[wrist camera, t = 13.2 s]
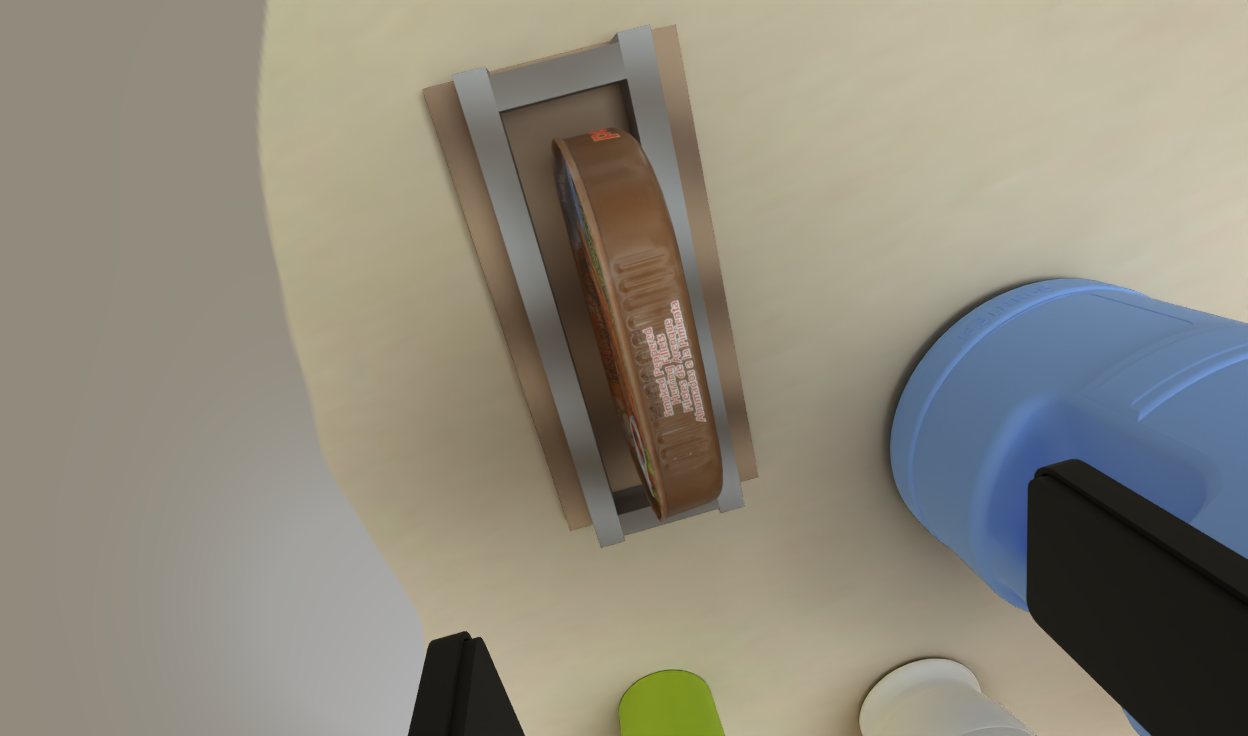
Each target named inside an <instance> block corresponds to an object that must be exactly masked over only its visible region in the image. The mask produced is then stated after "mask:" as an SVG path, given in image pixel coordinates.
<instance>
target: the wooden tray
mask: <svg viewBox="0 0 1248 736" xmlns="http://www.w3.org/2000/svg"><path fill="white" fill-rule="evenodd" d="M452 77H453V81H452V82H448V83H444V84H440V85H436V86H432V87H429V88H425V89H423V92H424V95H425V98H426V101H427V104H428V107H429V110H430V113H431V116H432V119H433V122H434V125H435V128H436V131H437V134H438V137H439V140H440V143H441V146H442V149H443V152H444V155H445V158H446V161H447V164H448V167H449V170H450V173H451V176H452V179H453V182H454V185H455V188H456V191H457V194H458V197H459V200H460V203H461V206H462V209H463V212H464V215H465V218H466V221H467V224H468V227H469V230H470V233H471V236H472V239H473V242H474V245H475V248H476V251H477V254H478V257H479V260H480V263H481V266H482V269H483V272H484V275H485V278H486V281H487V284H488V287H489V290H490V293H491V296H492V299H493V302H494V304H495V307H496V310H497V313H498V316H499V319H500V322H501V325H502V328H503V331H504V334H505V337H506V340H507V343H508V346H509V349H510V352H511V355H512V358H513V361H514V364H515V367H516V370H517V373H518V376H519V379H520V382H521V385H522V388H523V391H524V394H525V397H526V400H527V403H528V406H529V409H530V412H531V415H532V418H533V421H534V424H535V427H536V430H537V433H538V436H539V439H540V442H541V445H542V448H543V451H544V454H545V457H546V460H547V463H548V466H549V469H550V472H551V475H552V478H553V481H554V484H555V487H556V490H557V493H558V496H559V499H560V502H561V505H562V508H563V511H564V514H565V517H566V519H567V522H568V525H569V528H570V531H572V530H576V529H579V528H583V527H586V526H590V525H593V524H594V528H595V531H596V534H597V537H598V540H599V543H600V547H601V548H602V547H606V546H609V545H613V544H616V543H620V542H623V541H625V538H624V536H625V535H629V534H632V533H636V532H639V531H643V530H646V529H649V528H653V527H656V526H660V525H663V524H667V523H670V522H674V521H677V520H681V519H684V518H688V517H691V516H694V515H698V514H701V513H705V512H708V511H712V510H715V509H719V510H720V512H721V513H723V512H727V511H730V510H734V509H737V508H741V507H744V506H745V505H744V500H743V495H742V490H741V485H740V482H742V481H746V480H749V479H753V478H756V477H758V473H757V467H756V462H755V456H754V451H753V445H752V440H751V434H750V429H749V423H748V418H747V412H746V407H745V401H744V396H743V390H742V385H741V379H740V374H739V369H738V363H737V358H736V352H735V347H734V341H733V336H732V330H731V325H730V319H729V314H728V308H727V303H726V297H725V292H724V286H723V281H722V275H721V270H720V264H719V259H718V253H717V248H716V242H715V237H714V231H713V226H712V220H711V215H710V210H709V204H708V199H707V193H706V188H705V182H704V177H703V171H702V166H701V160H700V155H699V149H698V144H697V138H696V133H695V127H694V122H693V116H692V111H691V105H690V100H689V94H688V89H687V83H686V78H685V72H684V67H683V61H682V56H681V51H680V45H679V40H678V34H677V29H676V24H675V25H671V26H667V27H663V28H659V29H655V30H652V31H651V28H650V24H649V25H646V26H642V27H638V28H634V29H630V30H626V31H622V32H618V33H617V34H616V35H615V36H614V37H613V39H612V40H611V41H608V42H605V43H601V44H597V45H593V46H589V47H585V48H581V49H577V50H573V51H569V52H565V53H562V54H558V55H554V56H550V57H546V58H542V59H538V60H534V61H530V62H526V63H522V64H519V65H515V66H511V67H507V68H503V69H499V70H495V71H491V72H489V71H488V70H487V68H486V67H481V68H477V69H473V70H469V71H465V72H461V73H457V74H454V75H452ZM610 127H615V128H619V129H621V130H623V131H624V132H626V133H628V134H630V135H632V136H633V137H634V138H635V139H636V140H637V141H638V143H639V144H640V146H641V147H642V149H643V151H644V152H645V154H646V156H647V158H648V160H649V161H650V163H651V165H652V167H653V170H654V172H655V175H656V177H657V180H658V182H659V184H660V187H661V189H662V192H663V195H664V198H665V201H666V204H667V208H668V211H669V214H670V217H671V221H672V224H673V228H674V231H675V235H676V239H677V243H678V247H679V251H680V256H681V261H682V265H683V270H684V274H685V279H686V284H687V288H688V292H689V297H690V303H691V307H692V311H693V316H694V320H695V325H696V330H697V335H698V340H699V345H700V350H701V354H702V359H703V363H704V368H705V373H706V378H707V383H708V389H709V393H710V398H711V403H712V409H713V414H714V419H715V424H716V430H717V434H718V439H719V445H720V451H721V456H722V466H723V487H722V491H721V493H720V495H719V497H718V498H717V499H715V500H714V501H712V502H710V503H707V504H705V505H702V506H700V507H697V508H694V509H691V510H688V511H685V512H682V513H679V514H676V515H673V516H671V517H668V518H667V519H666V520H665V521H663V522H660V521H659V520H658V519H657V517H656V515H655V513H654V511H653V510H652V508H651V505H650V503H649V501H648V499H647V496H646V493H645V491H644V488H643V485H642V483H641V480H640V478H639V476H638V473H637V470H636V468H635V465H634V462H633V460H632V457H631V454H630V451H629V448H628V446H627V443H626V440H625V437H624V434H623V431H622V428H621V424H620V421H619V418H618V415H617V411H616V408H615V405H614V401H613V398H612V395H611V391H610V388H609V384H608V381H607V377H606V373H605V370H604V366H603V363H602V359H601V355H600V351H599V348H598V344H597V340H596V336H595V333H594V329H593V325H592V321H591V318H590V314H589V311H588V307H587V303H586V299H585V296H584V292H583V288H582V285H581V281H580V277H579V274H578V270H577V266H576V262H575V259H574V255H573V252H572V248H571V244H570V240H569V236H568V232H567V229H566V223H565V220H564V217H563V213H562V209H561V205H560V201H559V197H558V192H557V188H556V182H555V175H554V167H553V158H552V150H551V143H552V139H554V138H557V137H558V138H561V139H566V138H571V137H575V136H579V135H582V134H586V133H589V132H593V131H596V130H600V129H605V128H610Z"/></svg>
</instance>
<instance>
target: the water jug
mask: <svg viewBox="0 0 1248 736" xmlns="http://www.w3.org/2000/svg"><path fill="white" fill-rule="evenodd" d="M890 456H891V466H892V471H893V476H894V480H895V483H896V486H897V488H898V491H899V493H900V495H901V497H902V499H903V501H904V502H905V504H906V506H907V507H908V509H909V510H910V511H911V513H912V514H913V515H914V516H915V517H916V518H917V519H918V520H919V521H920V522H921V523H922V524H923V525H924V526H925V527H926V528H927V529H928V530H929V531H930V532H931V533H932V534H933V535H934V536H935V537H936V538H937V539H938V540H939V541H941V542H942V543H943V544H945V545H946V546H948V547H949V548H951V549H952V550H953V551H954V552H955V553H956V554H957V555H958V556H959V557H960V558H961V559H962V560H963V561H964V562H965V563H966V564H967V565H968V566H969V567H970V568H971V569H972V570H973V571H974V572H975V573H976V574H977V575H978V576H979V577H980V578H981V579H982V580H983V581H984V582H985V583H986V584H987V585H988V586H989V587H990V588H991V589H992V590H993V591H994V592H995V593H997V594H998V595H999V596H1000V597H1001V598H1003V599H1004V600H1006V601H1007V602H1009V603H1010V604H1012V605H1014V606H1016V607H1018V608H1020V609H1022V610H1025V611H1027V612H1029V609H1028V606H1027V601H1026V587H1027V500H1028V483H1029V482H1030V480H1033V479H1034V474H1035V472H1036V471H1037V469H1039V468H1041V467H1044V466H1048V465H1051V464H1055V463H1058V462H1062V461H1065V460H1069V459H1079V460H1081V461H1084V462H1086V463H1087V464H1089V465H1091V466H1092V467H1094V468H1096V469H1097V470H1099V471H1101V472H1102V473H1104V474H1106V475H1107V476H1109V477H1111V478H1112V479H1114V480H1116V481H1117V482H1119V483H1121V484H1122V485H1124V486H1126V487H1128V488H1129V489H1131V490H1133V491H1134V492H1136V493H1138V494H1139V495H1141V496H1143V497H1144V498H1146V499H1148V500H1149V501H1151V502H1153V503H1154V504H1156V505H1158V506H1159V507H1161V508H1163V509H1164V510H1166V511H1168V512H1169V513H1171V514H1173V515H1174V516H1176V517H1178V518H1179V519H1181V520H1183V521H1185V522H1186V523H1188V524H1190V525H1191V526H1193V527H1195V528H1196V529H1198V530H1200V531H1201V532H1203V533H1205V534H1206V535H1208V536H1210V537H1211V538H1213V539H1215V540H1216V541H1218V542H1220V543H1221V544H1223V545H1225V546H1226V547H1228V548H1230V549H1231V550H1233V551H1235V552H1236V553H1238V554H1240V555H1242V556H1243V557H1245V558H1247V559H1248V323H1243V322H1240V321H1236V320H1232V319H1228V318H1224V317H1220V316H1217V315H1213V314H1209V313H1205V312H1201V311H1198V310H1194V309H1190V308H1186V307H1182V306H1179V305H1175V304H1171V303H1167V302H1163V301H1159V300H1156V299H1152V298H1150V297H1148V296H1146V295H1144V294H1142V293H1139V292H1137V291H1134V290H1131V289H1127V288H1123V287H1119V286H1115V285H1111V284H1107V283H1104V282H1099V281H1094V280H1088V279H1073V278H1068V279H1053V280H1046V281H1041V282H1036V283H1032V284H1028V285H1025V286H1021V287H1018V288H1016V289H1013V290H1010V291H1008V292H1005V293H1003V294H1001V295H999V296H997V297H995V298H993V299H991V300H989V301H987V302H985V303H984V304H982V305H980V306H979V307H977V308H975V309H974V310H972V311H971V312H970V313H968V314H967V315H965V316H964V317H963V318H961V319H960V320H959V321H958V322H956V323H955V324H954V325H953V326H952V327H951V328H950V329H948V330H947V331H946V332H945V333H944V334H943V335H942V336H941V337H940V338H939V339H938V340H937V341H936V343H935V344H934V345H933V346H932V347H931V348H930V349H929V351H928V352H927V353H926V355H925V356H924V357H923V358H922V360H921V361H920V363H919V364H918V366H917V367H916V369H915V370H914V372H913V374H912V375H911V377H910V379H909V381H908V383H907V385H906V387H905V389H904V391H903V393H902V396H901V398H900V401H899V403H898V406H897V409H896V413H895V416H894V421H893V425H892V432H891V441H890ZM1121 707H1122V706H1121ZM1122 709H1123V711H1124V713H1125V715H1126V717H1127V718H1128V720H1129V722H1130V724H1131V725H1132V727H1133V728H1134V729H1135V731H1136V732H1137V733H1138V734H1139V735H1140V736H1151V735H1150V734H1149V733H1148V732H1147V731H1146V730H1145V729H1144V728H1143V727H1142V726H1141V725H1140V724H1139V723H1138V722H1137V721H1136V720H1135V719H1134V718H1133V717H1132V716H1131V715H1130V714H1129V713H1128V712H1127V711H1126V710H1125V709H1124V708H1123V707H1122Z"/></svg>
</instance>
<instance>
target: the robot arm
mask: <svg viewBox="0 0 1248 736" xmlns="http://www.w3.org/2000/svg"><path fill="white" fill-rule="evenodd" d="M1026 601H1027V606H1028V609H1029V612H1030V614H1031V616H1032V617H1033V619H1034V620H1035V621H1036V623H1037V624H1038V625H1039V626H1040V627H1041V628H1042V629H1043V630H1044V631H1045V632H1046V633H1047V634H1048V635H1049V636H1050V637H1051V638H1052V639H1053V640H1054V641H1055V642H1056V643H1057V644H1058V645H1059V646H1060V647H1061V648H1062V649H1063V650H1064V651H1065V652H1067V653H1068V654H1069V655H1070V656H1071V657H1072V658H1073V659H1074V660H1075V661H1076V662H1077V663H1078V664H1079V665H1080V666H1081V667H1082V668H1083V669H1084V670H1085V671H1086V672H1087V673H1088V674H1089V675H1090V676H1091V677H1092V678H1093V679H1094V680H1095V681H1096V682H1097V683H1098V684H1099V685H1100V686H1101V687H1102V688H1103V689H1104V690H1105V691H1106V692H1107V693H1108V694H1109V695H1110V696H1111V697H1112V698H1113V699H1114V700H1115V701H1116V702H1117V703H1118V704H1120V705H1121V706H1122V707H1123V708H1124V709H1125V710H1126V711H1127V712H1128V713H1129V714H1130V715H1131V716H1132V717H1133V718H1134V719H1135V720H1136V721H1137V722H1138V723H1139V724H1140V725H1141V726H1142V727H1143V728H1144V729H1145V730H1146V731H1147V732H1148V733H1149V734H1150V735H1151V736H1248V559H1247V558H1245V557H1243V556H1242V555H1240V554H1238V553H1236V552H1235V551H1233V550H1231V549H1230V548H1228V547H1226V546H1225V545H1223V544H1221V543H1220V542H1218V541H1216V540H1215V539H1213V538H1211V537H1210V536H1208V535H1206V534H1205V533H1203V532H1201V531H1200V530H1198V529H1196V528H1195V527H1193V526H1191V525H1190V524H1188V523H1186V522H1185V521H1183V520H1181V519H1179V518H1178V517H1176V516H1174V515H1173V514H1171V513H1169V512H1168V511H1166V510H1164V509H1163V508H1161V507H1159V506H1158V505H1156V504H1154V503H1153V502H1151V501H1149V500H1148V499H1146V498H1144V497H1143V496H1141V495H1139V494H1138V493H1136V492H1134V491H1133V490H1131V489H1129V488H1128V487H1126V486H1124V485H1122V484H1121V483H1119V482H1117V481H1116V480H1114V479H1112V478H1111V477H1109V476H1107V475H1106V474H1104V473H1102V472H1101V471H1099V470H1097V469H1096V468H1094V467H1092V466H1091V465H1089V464H1087V463H1086V462H1084V461H1081V460H1079V459H1069V460H1065V461H1062V462H1058V463H1055V464H1051V465H1048V466H1044V467H1041V468H1039V469H1037V471H1036V472H1035V474H1034V479H1033V480H1030V482H1029V483H1028V500H1027V587H1026ZM408 736H525V735H524V732H523V730H522V728H521V725H520V723H519V721H518V719H517V716H516V714H515V712H514V709H513V707H512V705H511V703H510V700H509V698H508V696H507V693H506V691H505V689H504V686H503V684H502V682H501V680H500V677H499V675H498V673H497V670H496V668H495V666H494V663H493V661H492V659H491V657H490V654H489V652H488V650H487V647H486V645H485V643H484V641H483V639H482V638H481V637H477V638H474V639H472V638H471V636H470V634H469V633H468V632H467V631H464V632H460V633H457V634H453V635H450V636H446V637H443V638H439V639H436V640H432V641H431V642H430V643H429V646H428V649H427V653H426V658H425V662H424V667H423V671H422V676H421V680H420V684H419V689H418V693H417V698H416V702H415V706H414V711H413V716H412V720H411V724H410V729H409V733H408Z"/></svg>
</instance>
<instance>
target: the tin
mask: <svg viewBox="0 0 1248 736" xmlns="http://www.w3.org/2000/svg"><path fill="white" fill-rule="evenodd" d="M551 150H552V158H553V167H554V175H555V182H556V188H557V192H558V197H559V201H560V205H561V209H562V213H563V217H564V220H565V223H566V229H567V232H568V236H569V240H570V244H571V248H572V252H573V255H574V259H575V262H576V266H577V270H578V274H579V277H580V281H581V285H582V288H583V292H584V296H585V299H586V303H587V307H588V311H589V314H590V318H591V321H592V325H593V329H594V333H595V336H596V340H597V344H598V348H599V351H600V355H601V359H602V363H603V366H604V370H605V373H606V377H607V381H608V384H609V388H610V391H611V395H612V398H613V401H614V405H615V408H616V411H617V415H618V418H619V421H620V424H621V428H622V431H623V434H624V437H625V440H626V443H627V446H628V448H629V451H630V454H631V457H632V460H633V462H634V465H635V468H636V470H637V473H638V476H639V478H640V480H641V483H642V485H643V488H644V491H645V493H646V496H647V499H648V501H649V503H650V505H651V508H652V510H653V511H654V513H655V515H656V517H657V519H658V520H659V521H660V522H663V521H665V520H666V519H667V518H668V517H671V516H673V515H676V514H679V513H682V512H685V511H688V510H691V509H694V508H697V507H700V506H702V505H705V504H707V503H710V502H712V501H714V500H715V499H717V498H718V497H719V495H720V493H721V491H722V487H723V466H722V456H721V451H720V445H719V439H718V434H717V430H716V424H715V419H714V414H713V409H712V403H711V398H710V393H709V389H708V383H707V378H706V373H705V368H704V363H703V359H702V354H701V350H700V345H699V340H698V335H697V330H696V325H695V320H694V316H693V311H692V307H691V303H690V297H689V292H688V288H687V284H686V279H685V274H684V270H683V265H682V261H681V256H680V251H679V247H678V243H677V239H676V235H675V231H674V228H673V224H672V221H671V217H670V214H669V211H668V208H667V204H666V201H665V198H664V195H663V192H662V189H661V187H660V184H659V182H658V180H657V177H656V175H655V172H654V170H653V167H652V165H651V163H650V161H649V160H648V158H647V156H646V154H645V152H644V151H643V149H642V147H641V146H640V144H639V143H638V141H637V140H636V139H635V138H634V137H633V136H632V135H630V134H628V133H626V132H624V131H623V130H621V129H619V128H615V127H610V128H605V129H600V130H596V131H593V132H589V133H586V134H582V135H579V136H575V137H571V138H566V139H561V138H558V137H557V138H554V139H552V143H551Z"/></svg>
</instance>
